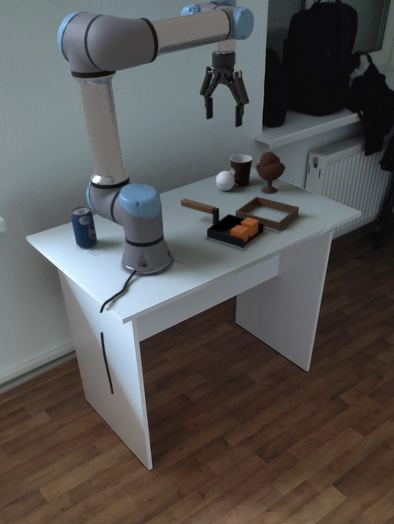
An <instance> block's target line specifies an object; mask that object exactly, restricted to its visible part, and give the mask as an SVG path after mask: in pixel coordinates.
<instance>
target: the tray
mask: <svg viewBox="0 0 394 524" xmlns="http://www.w3.org/2000/svg"><path fill="white" fill-rule="evenodd" d="M255 206H259V207H264V208H268V209H272V210H276V211H279V212H282V213H283V212H284V213H287V215H285V216H284V217H283V218H282V219H281V220H279V221H276V220H272V219H269V218H265V217H261V216H257V215H255V214H250V213H247V212H248V211H250V210H251V209H253V208H254V207H255ZM299 211H300V207H299V206H296V205H292V204H287V203H284V202H280V201H276V200H272V199H268V198H264V197H260V196H255V197H253V198H252V199H251V200H249V201H248V202H246V203H245V204H244V205H243V206H240V207H239V208H238V209H237V210H235V216H238V217H242V218H245V219H246V218H252V219H255V220H259V222H260V223H263V224H264V228H268V229H271V230H275V231H278V232H280V230H282V229H283V228H285V226H286V225H288V224H289V223H290V222H291V221H292V220H294V219H296V217H297V216H299Z"/></svg>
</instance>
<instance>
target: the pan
mask: <svg viewBox="0 0 394 524" xmlns="http://www.w3.org/2000/svg"><path fill="white" fill-rule="evenodd" d="M180 206H181V207H183V208H187V209H191V210H193V211H194V210H195V211H197V212H200V213H205V214H209V215H212V225H211V226H209V227H207V228H206V237H207V238H209V239H212V240H216V241H218V242H221V243H225V244H228V245H232V246H234V247H238V248H241V249H244V248H245V247H246V246H247V245H249V244H250V243H251V242H253V240H255V239H256V238H258V237H259V236H260V235H261V234H263V233H264V230H265V227H264V224H263V223H260V222H258V232H257V233H256V234H255V235H253V236H252V237H250V236H248V240H247V241H246V242H245V243H244V239H241V238H238V237H235V236H231V229H233V228H234V227H235V226H237V225H240V226H241V222H242V221H244V220H245V218H242V217H238V216H236V215H234V214H231V213H228V214H227V215H225V216H223V217H222V218H221V219H220V207H216V206H214V205H211V204H207V203H203V202H200V201H195V200H191V199H187V198H183V199H181V200H180Z"/></svg>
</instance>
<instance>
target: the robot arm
mask: <svg viewBox="0 0 394 524" xmlns="http://www.w3.org/2000/svg"><path fill="white" fill-rule="evenodd" d="M254 27H255V17H254V13H253V12H252V10H251V9H249V8H248V7H243V6H242V5H241V6H240V5H239V6H237V0H210V1H208V2H201V3H192V4H189V5H186V6H185V7H183V9H182V10H181V12H180V15H177V16H173V17H172V16H171V17H166V18H161V19H155V20H150V19H149V18H147V17H139V18H128V17H127V18H126V17H121V16H115V15H111V14H110V15H108V14H100V13H93V12H89V11H77V12H72V13H69V14H68V15H66V16H65V17H64V18H63V20H62V21H61V23H60V25H59V27H58V30H57V35H56V36H57V37H56V38H57V39H56V41H57V47H58V51H59V52H60V54H61V56H62V58H64V60H65V61H66V62H68V63H69V68H70V73H71V77H72V79H74V80H75V81H76V82H77V83H78V85H79V90H80V91H79V93H80V98H81V103H82V109H83V115H84V120H85V127H86V133H87V139H88V145H89V149H90V156H91V157H90V158H91V161H92V168H93V172H92V174H90V176H89V182H88V187H87V188H86V193H85V195H86V196H85V197H86V201H87V204H88V206H89V209H90V210H92V211H93V212H94V213H96V214H97V215H98V216H99V217H101V218H103V219H106V220H109V221H111V222H113V223H114V224H116V225H118V226H121V227H122V228H123V232H124V239H125V244H124V250H123V254H122V257H121V261H122V266H123V268H124V270H125V271H127V272H128V273H131V274H130V275H129V277H127V279H126V280H125V282H124V285H123V287H122V289H121V290H119V291H118V292H117V293H115V294H113V295H112V296H110V298H108V299H106V300H105V301H103V303H102V304H101V307H100V310H99V314H102V313H103V312H104V309H105V307H106V305H108V304H109V303H110V302H112V301H113V300H115V299H116V298H118V297H119V296H121V295H122V294H123V293H124V292H125V291H126V289H127V287H128V284H129V283H130V281H131V280H132V278H133V277H134V276H135V275H138V276H152V275H156V274H159V273H162V272H164V271H165V270H167V269H168V268H170V266H171V264H172V261H173V259H172V258H173V257H172V251H171V249H170V248H169V246H168V244H167V242H166V239H165V234H164V221H163V204H162V201H161V195H160V192H159V191H158V190H157V189H156V188H155V187H153V186H152V185H149V184H147V183H139V182H134V183H131V179H130V173H129V172H128V171H127V170H126V169H125V168H124V165H123V164H124V163H123V158H122V150H121V142H120V135H119V127H118V119H117V113H116V106H115V104H116V103H115V98H114V91H113V90H114V89H113V83H112V81H113V78H114V77H115V76H116V74H117V72H118V71H124V70H128V69H132V68H135V67H140V66H143V65H147V64H151V63H153V62H155V61H156V60H157V58H158V57H161V56H164V55H168V54H173V53H177V52H181V51H185V50H186V51H187V50H190V49H195V48H198V47H202V46H207V45H211V51H212V53H211V64H210V65H207V66H206V67H205V75H204V78H203V81H202V85H201V88H200V91H199V95H200V96H202V97H203V99H204V108H205V119H206V120H210V119H213V118H214V98H213V93H214V92H215V90H216V89H217V87H218V86H219V85H224V86H226V87H227V88H228V89H229V91H230V93H231V95H232V97H233V99H234V101H235V103H236V105H235V106H234V107H235V109H234V124H235V125H234V128H240V127H241V126H243V116H244V115H245V105H248V104H250V99H249V95H248V92H247V88H246V85H245V82H244V79H243V70H241V69H240V70H235V66H236V64H237V63H236V58H237V53H236V51H235V50H236V48H237V46H236V45H237V44H236V43H237V41H245V40H247V39H249V38H250V37H251V35H252V34H253V31H254ZM99 335H100V343H101V351H102V357H103V361H104V365H105V366H104V367H105V370H106V374H107V379H108V383H109V390H110V394H111V395H114V393H115V392H114V387H113V382H112V378H111V377H112V376H111V372H110V367H109V363H108V358H107V353H106V346H105V338H104V337H105V336H104V332H103V331H101V332H100V334H99Z"/></svg>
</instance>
